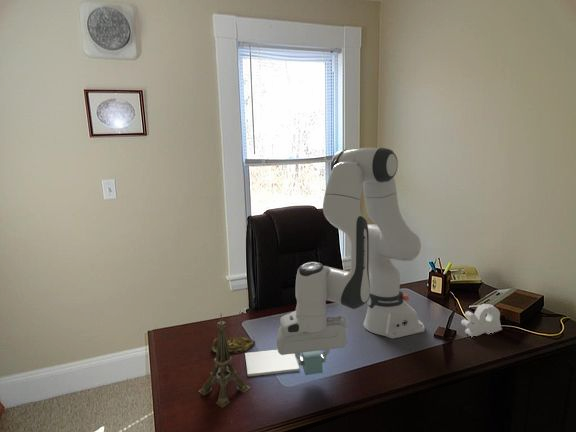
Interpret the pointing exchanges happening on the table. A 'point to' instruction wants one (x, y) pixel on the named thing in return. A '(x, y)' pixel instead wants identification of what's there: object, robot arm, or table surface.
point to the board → (270, 363)
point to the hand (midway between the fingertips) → (311, 362)
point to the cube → (312, 362)
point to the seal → (236, 345)
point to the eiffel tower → (223, 370)
